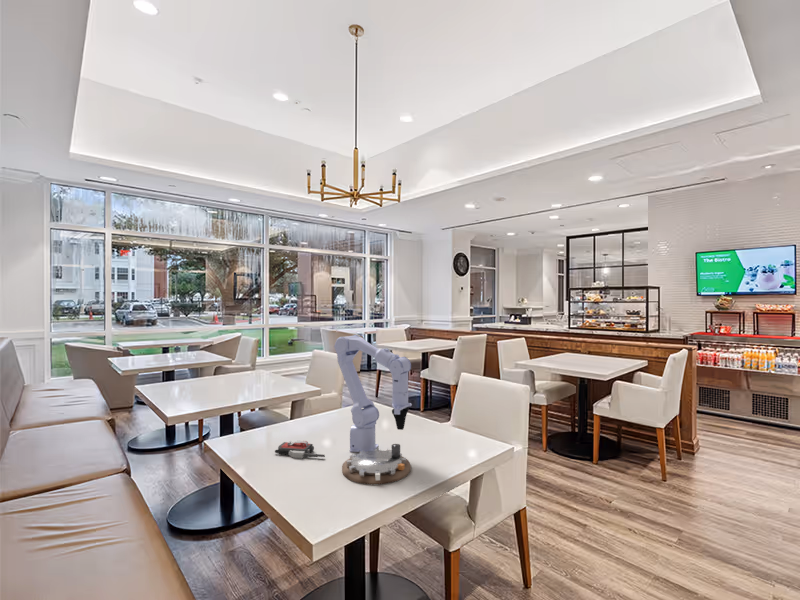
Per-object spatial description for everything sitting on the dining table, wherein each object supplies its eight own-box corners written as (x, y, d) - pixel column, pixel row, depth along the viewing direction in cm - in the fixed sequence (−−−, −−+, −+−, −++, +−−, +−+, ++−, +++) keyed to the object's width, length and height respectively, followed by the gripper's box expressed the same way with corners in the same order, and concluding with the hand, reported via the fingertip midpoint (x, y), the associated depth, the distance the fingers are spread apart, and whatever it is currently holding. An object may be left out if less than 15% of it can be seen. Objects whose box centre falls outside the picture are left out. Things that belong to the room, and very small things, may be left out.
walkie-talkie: (271, 457, 146) (323, 461, 143) (271, 445, 146) (323, 448, 143) (282, 448, 155) (332, 451, 151) (282, 437, 155) (332, 440, 151)
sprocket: (339, 475, 127) (339, 457, 127) (356, 451, 146) (356, 436, 146) (400, 479, 124) (400, 461, 124) (409, 454, 143) (409, 439, 143)
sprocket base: (332, 481, 126) (332, 472, 126) (353, 453, 148) (353, 445, 148) (404, 487, 122) (404, 477, 122) (414, 457, 144) (414, 449, 144)
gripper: (408, 396, 136) (408, 436, 136) (413, 387, 151) (414, 423, 151) (388, 395, 138) (388, 435, 138) (395, 386, 152) (395, 422, 152)
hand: (400, 429), depth 144 cm, fingers closed
